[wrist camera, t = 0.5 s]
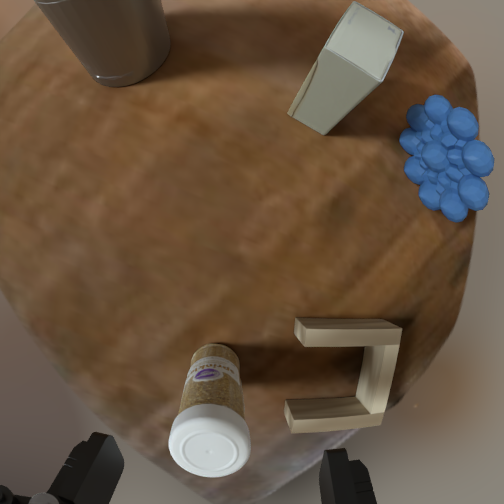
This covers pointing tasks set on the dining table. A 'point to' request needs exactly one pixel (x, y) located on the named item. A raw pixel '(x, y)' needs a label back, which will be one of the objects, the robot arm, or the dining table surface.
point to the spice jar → (211, 416)
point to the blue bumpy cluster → (446, 157)
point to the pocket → (370, 381)
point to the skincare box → (346, 68)
